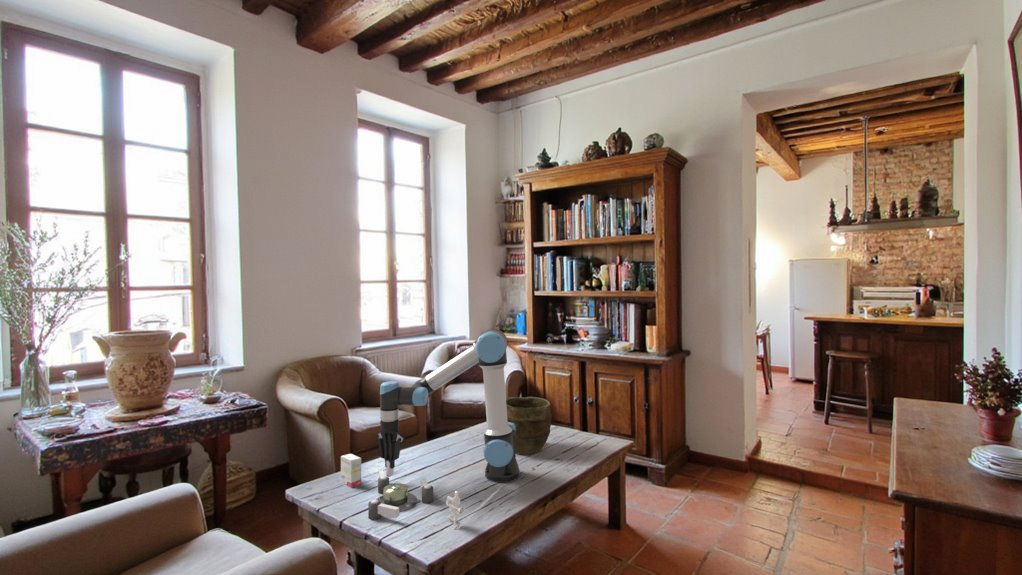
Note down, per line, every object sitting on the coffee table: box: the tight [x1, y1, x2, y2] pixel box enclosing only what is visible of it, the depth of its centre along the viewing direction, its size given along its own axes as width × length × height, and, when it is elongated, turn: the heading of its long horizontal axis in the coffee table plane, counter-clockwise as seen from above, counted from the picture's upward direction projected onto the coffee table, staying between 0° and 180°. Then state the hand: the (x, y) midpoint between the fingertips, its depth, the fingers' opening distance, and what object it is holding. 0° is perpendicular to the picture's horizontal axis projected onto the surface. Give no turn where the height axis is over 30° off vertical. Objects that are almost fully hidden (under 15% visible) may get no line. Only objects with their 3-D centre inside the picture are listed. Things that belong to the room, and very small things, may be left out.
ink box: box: [340, 453, 362, 489], centre depth 201 cm, size 9×5×12 cm, turn 49°
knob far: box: [377, 469, 390, 495], centre depth 196 cm, size 12×4×6 cm, turn 21°
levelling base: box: [375, 482, 421, 513], centre depth 180 cm, size 26×23×7 cm
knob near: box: [419, 477, 434, 505], centre depth 188 cm, size 12×4×6 cm, turn 21°
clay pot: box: [506, 396, 553, 456], centre depth 241 cm, size 25×25×25 cm
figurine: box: [445, 490, 466, 530], centre depth 167 cm, size 5×9×12 cm, turn 57°
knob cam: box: [367, 499, 400, 521], centre depth 170 cm, size 12×4×6 cm, turn 66°
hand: (390, 475), depth 200 cm, fingers closed
